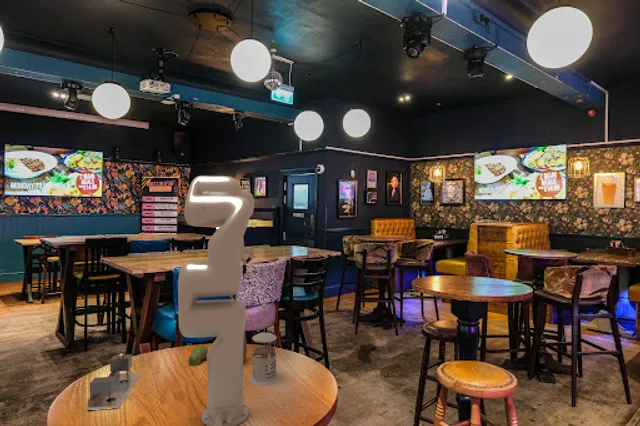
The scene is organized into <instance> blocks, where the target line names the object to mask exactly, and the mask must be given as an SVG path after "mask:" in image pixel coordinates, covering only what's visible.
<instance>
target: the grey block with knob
mask: <svg viewBox="0 0 640 426" xmlns="http://www.w3.org/2000/svg"><path fill="white" fill-rule="evenodd" d="M132 357H133V355H132V353H131V354H125V353H124V352H122V353H118V354H117V355H114V354H113V356H112V357H111V358H110V359H109V371H110V373H111V372H117V371H120V372H125V373H126V375H130V373H131V368H132V366H133V365H132V362H133V358H132Z"/></svg>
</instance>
